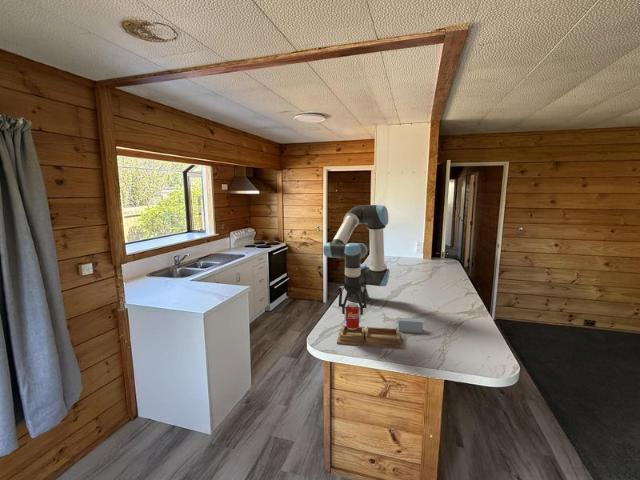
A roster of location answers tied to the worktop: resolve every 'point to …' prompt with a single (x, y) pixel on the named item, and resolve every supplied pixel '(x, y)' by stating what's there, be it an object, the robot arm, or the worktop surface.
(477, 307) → the worktop surface
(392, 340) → the tray
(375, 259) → the robot arm
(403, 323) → the bar
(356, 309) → the beverage can
